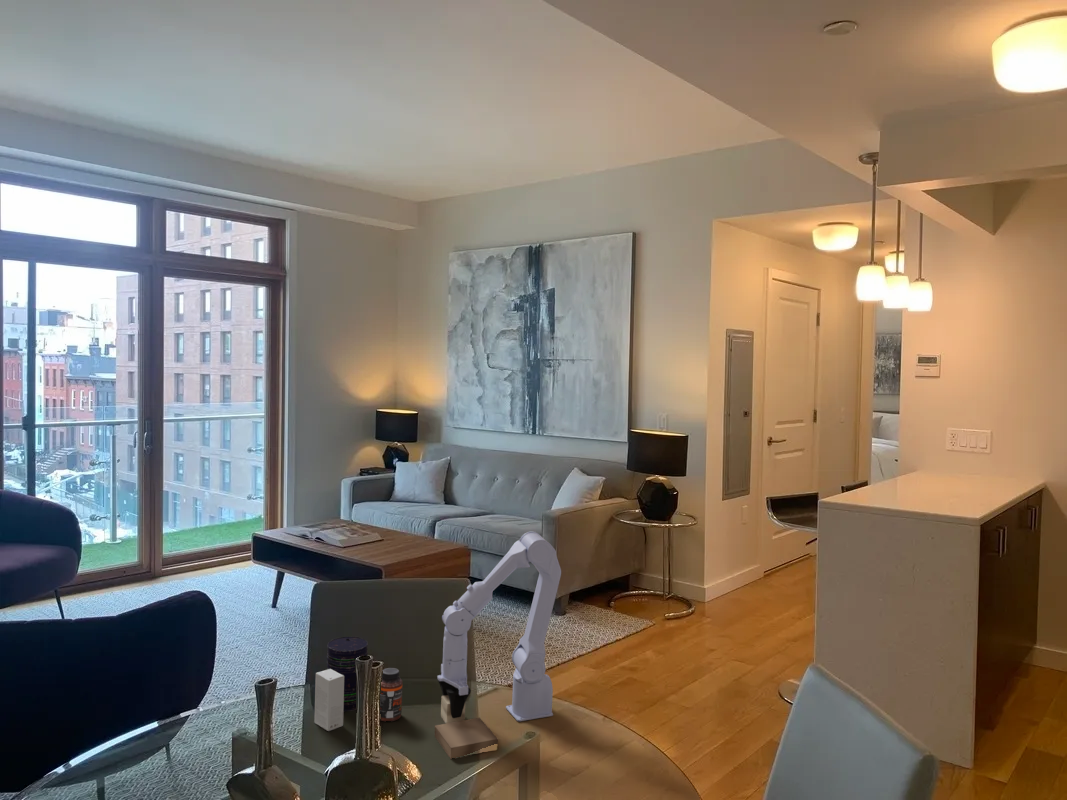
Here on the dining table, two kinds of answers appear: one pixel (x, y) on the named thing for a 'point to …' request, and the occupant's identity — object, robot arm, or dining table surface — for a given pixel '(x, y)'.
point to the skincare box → (329, 699)
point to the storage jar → (346, 664)
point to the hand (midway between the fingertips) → (452, 712)
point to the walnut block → (464, 737)
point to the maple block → (449, 711)
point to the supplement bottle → (391, 695)
